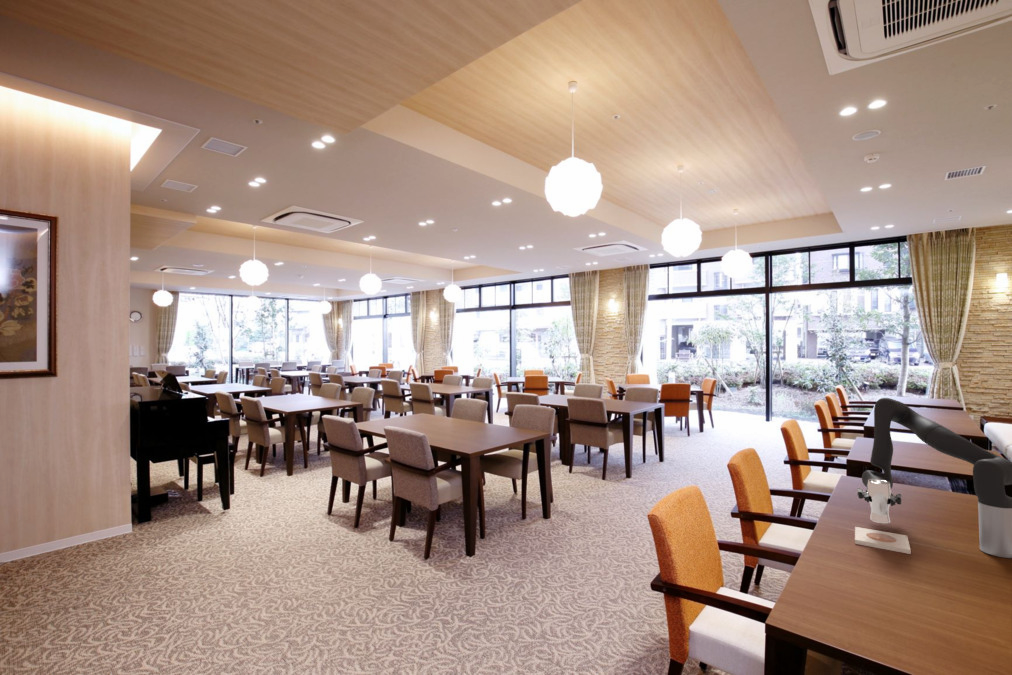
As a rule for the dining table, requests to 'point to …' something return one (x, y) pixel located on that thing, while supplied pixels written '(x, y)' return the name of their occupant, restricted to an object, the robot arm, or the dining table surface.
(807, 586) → the dining table surface
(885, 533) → the ceramic tile
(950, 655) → the dining table surface
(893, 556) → the dining table surface
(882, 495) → the shiny silver metal cup
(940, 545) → the dining table surface
